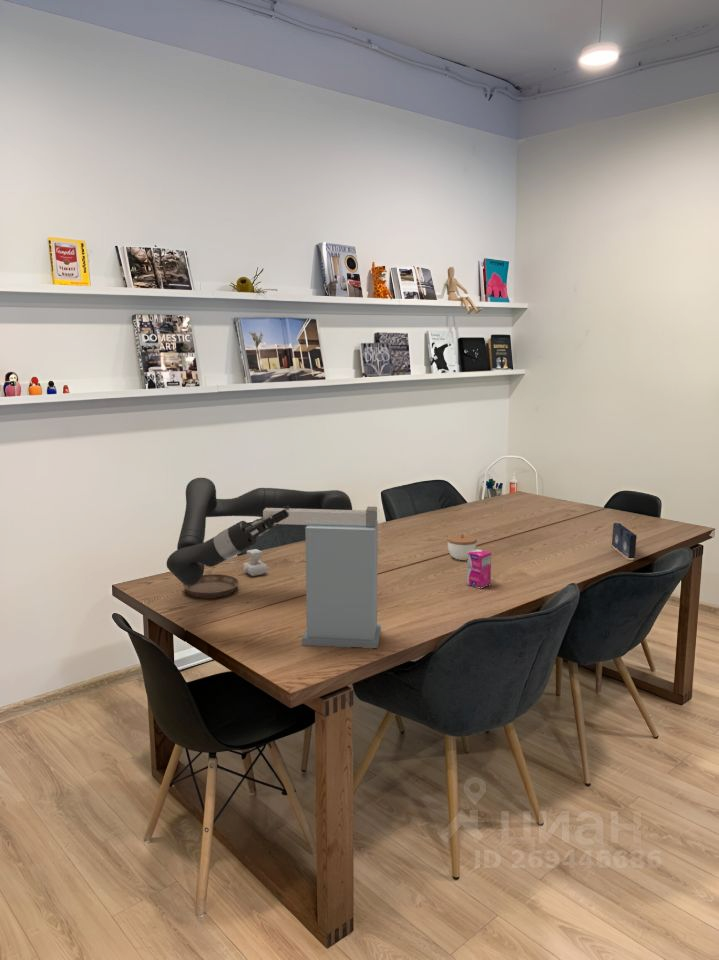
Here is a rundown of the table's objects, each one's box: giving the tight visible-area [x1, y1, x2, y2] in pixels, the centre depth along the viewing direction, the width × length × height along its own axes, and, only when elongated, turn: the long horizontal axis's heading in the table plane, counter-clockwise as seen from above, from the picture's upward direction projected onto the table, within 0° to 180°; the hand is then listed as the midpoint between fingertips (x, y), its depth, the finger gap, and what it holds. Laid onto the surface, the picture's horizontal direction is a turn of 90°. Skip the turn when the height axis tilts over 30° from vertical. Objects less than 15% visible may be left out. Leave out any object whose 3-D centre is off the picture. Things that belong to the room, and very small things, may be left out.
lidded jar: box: [446, 533, 478, 559], centre depth 276 cm, size 11×11×9 cm
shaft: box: [263, 506, 378, 527], centre depth 197 cm, size 30×4×4 cm, turn 84°
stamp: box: [242, 548, 269, 577], centre depth 256 cm, size 9×7×8 cm
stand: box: [301, 520, 382, 649], centre depth 200 cm, size 20×12×32 cm, turn 84°
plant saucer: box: [182, 573, 240, 599], centre depth 240 cm, size 18×18×3 cm
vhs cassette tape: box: [611, 522, 638, 558], centre depth 282 cm, size 18×3×10 cm, turn 179°
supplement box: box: [466, 548, 492, 588], centre depth 245 cm, size 6×6×12 cm
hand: (288, 510), depth 198 cm, fingers closed on shaft, 3 cm apart
